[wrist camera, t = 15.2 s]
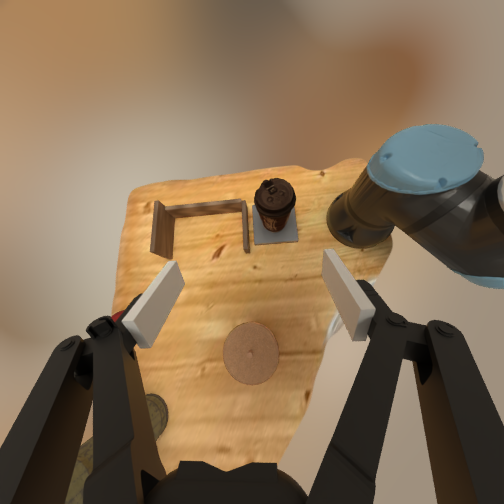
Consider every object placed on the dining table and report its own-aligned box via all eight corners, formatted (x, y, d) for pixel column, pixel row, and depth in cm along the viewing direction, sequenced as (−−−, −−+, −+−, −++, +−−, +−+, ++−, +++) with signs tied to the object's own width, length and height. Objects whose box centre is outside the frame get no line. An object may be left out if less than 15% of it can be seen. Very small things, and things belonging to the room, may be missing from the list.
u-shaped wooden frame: (247, 207, 51) (243, 191, 43) (249, 253, 48) (245, 244, 40) (171, 215, 53) (154, 200, 45) (168, 259, 50) (149, 251, 42)
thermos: (157, 456, 39) (-604, 1493, 5) (118, 418, 41) (-556, 935, 8) (181, 415, 40) (-284, 1009, 7) (143, 380, 43) (-333, 676, 9)
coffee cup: (261, 204, 50) (257, 171, 37) (292, 207, 48) (299, 175, 36) (255, 234, 48) (250, 210, 35) (288, 238, 46) (294, 215, 34)
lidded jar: (279, 322, 43) (281, 327, 34) (275, 373, 40) (277, 394, 31) (234, 316, 44) (225, 320, 35) (228, 365, 42) (216, 384, 33)
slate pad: (292, 203, 50) (293, 201, 49) (297, 241, 47) (298, 240, 46) (252, 207, 51) (252, 205, 50) (254, 245, 48) (254, 243, 47)
